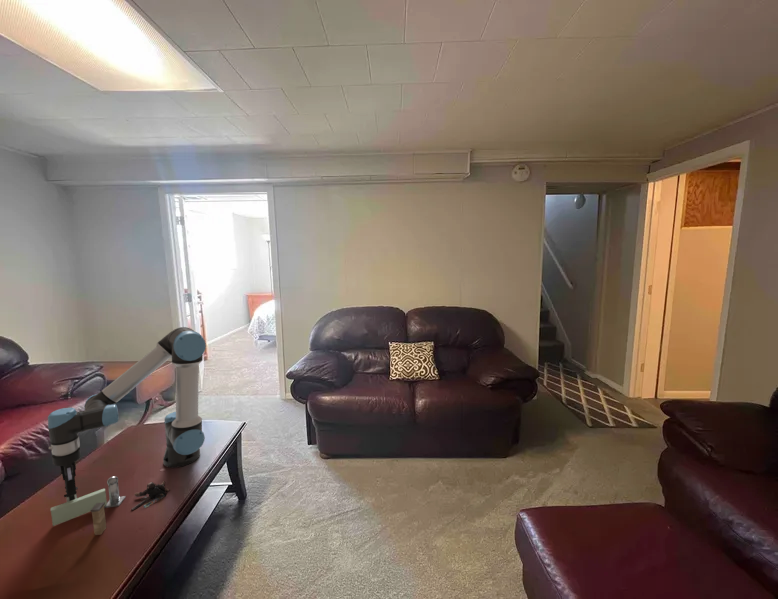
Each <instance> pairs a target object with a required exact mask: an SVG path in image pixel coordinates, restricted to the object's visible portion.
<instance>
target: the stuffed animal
mask: <svg viewBox="0 0 778 599" xmlns="http://www.w3.org/2000/svg"><path fill="white" fill-rule="evenodd" d="M165 483H166V481H165V480H164V481H162V482H161V483H160V484H159V483H158V484H156V483H155V482H153V481H150V482H149V483H147V485H146V489H144V490H143V491H140V492H135V493H134V497H136V498H140V497H142V498H140V500H141V501H140V502H138V504H136V505H134V506H133V507H132V508H131V509H130V511H135V510H137V509H138V508H139V507H140V506H142V505H143V508H144V509H146V508H148V507H150V506H151V505H153V504H154V503H156V502H158V501H160V500H161V499H163V498H164V497H166V496H167V493H169V492H170V489H169V488H168V487H165ZM147 495H148V497H147Z"/></svg>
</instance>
